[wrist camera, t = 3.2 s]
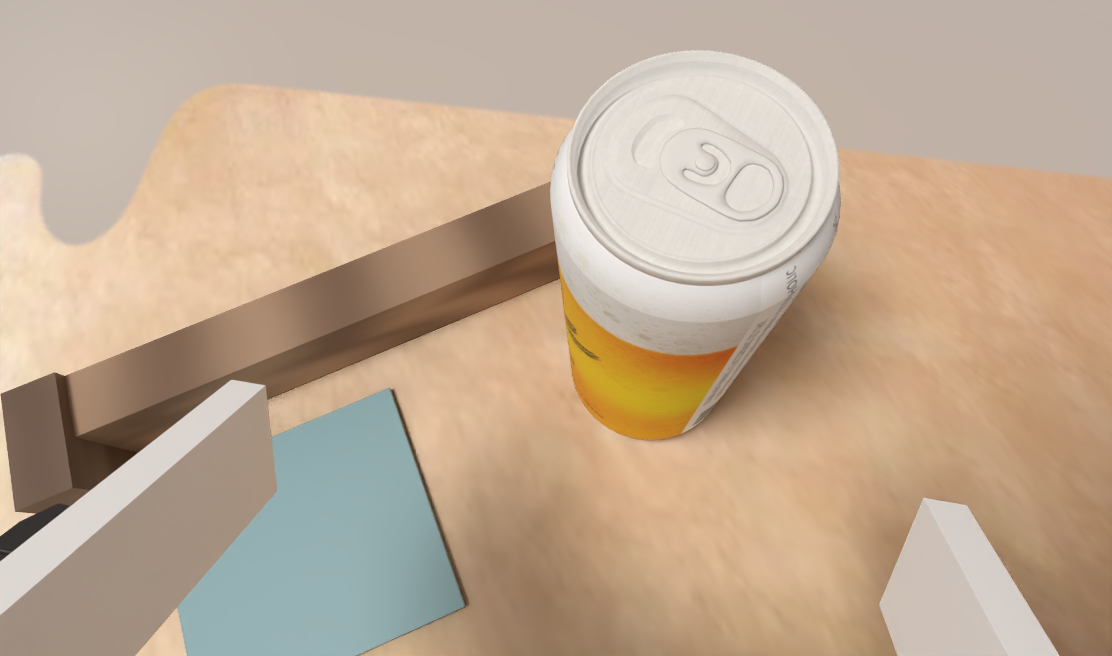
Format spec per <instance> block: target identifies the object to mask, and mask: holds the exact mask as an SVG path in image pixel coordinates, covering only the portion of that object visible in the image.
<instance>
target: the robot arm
mask: <svg viewBox="0 0 1112 656" xmlns="http://www.w3.org/2000/svg"><path fill="white" fill-rule="evenodd" d="M276 492H277V482H276V473H275V465H274V456H273V447H272V438H271V429H270V420H269V411H268V402H267V394H266V385H260V384H254V383H249V382H243V381H237V380H230V381H229V382H228V383H226V384H225V385H224V386H223V387H221V388H220V389H219V390H218V391H216V392H215V393H214V394H212V395H211V396H210V397H209V398H207V399H206V400H205V401H204V402H202V403H201V404H200V405H198V406H197V407H196V408H195V409H193V410H192V411H191V412H190V413H188V414H187V415H186V416H184V417H183V418H182V419H181V420H179V421H178V422H177V423H176V424H174V425H173V426H172V427H170V428H169V429H168V430H167V431H165V432H164V433H163V434H162V435H160V436H159V437H158V438H157V439H155V440H154V441H153V442H151V443H150V444H149V445H148V446H146V447H145V448H144V449H143V450H141V451H140V452H139V453H137V454H136V455H135V456H134V457H132V458H131V459H130V460H129V461H127V462H126V463H125V464H123V465H122V466H121V467H120V468H118V469H117V470H116V471H115V472H113V473H112V474H111V475H109V476H108V477H107V478H106V479H104V480H103V481H102V482H101V483H99V484H98V485H97V486H95V487H94V488H93V489H92V490H90V491H89V492H88V493H87V494H85V495H84V496H83V497H81V498H80V499H79V500H78V501H76V502H75V503H74V504H73V505H71V506H69V505H64V504H59V503H58V504H56V505H54V506H52V507H49V508H47V509H45V510H43V511H41V512H39V513H37V514H35V515H33V516H31V517H29V518H26V519H24V520H22V521H20V522H19V523H17V524H16V525H15V526H13V527H12V528H11V529H9V530H8V531H7V532H5V533H4V534H3V535H1V536H0V656H135V655H136V654H137V653H138V652H139V650H140V649H141V648H142V647H143V646H144V645H145V644H146V642H147V641H148V640H149V639H150V638H151V637H152V635H153V634H154V633H155V632H156V631H157V630H158V628H159V627H160V626H161V625H162V624H163V623H164V622H165V620H166V619H167V618H168V617H169V616H170V615H171V613H172V612H173V611H174V610H175V609H176V608H177V606H178V605H179V604H180V603H181V602H182V601H183V600H184V598H185V597H186V596H187V595H188V594H189V593H190V591H191V590H192V589H193V588H194V587H195V586H196V584H197V583H198V582H199V581H200V580H201V579H202V578H203V576H204V575H205V574H206V573H207V572H208V571H209V569H210V568H211V567H212V566H213V565H214V564H215V562H216V561H217V560H218V559H219V558H220V557H221V556H222V554H223V553H224V552H225V551H226V550H227V549H228V547H229V546H230V545H231V544H232V543H233V542H234V540H235V539H236V538H237V537H238V536H239V535H240V534H241V532H242V531H243V530H244V529H245V528H246V527H247V525H248V524H249V523H250V522H251V521H252V520H253V519H254V517H255V516H256V515H257V514H258V513H259V512H260V510H261V509H262V508H263V507H264V506H265V505H266V503H267V502H268V501H269V500H270V499H271V498H272V497H273V495H274V494H275V493H276ZM879 606H880V608H881V611H882V614H883V617H884V620H885V622H886V625H887V628H888V631H889V634H890V636H891V639H892V642H893V645H894V648H895V650H896V653H897V656H1059V654H1058V652H1057V651H1056V649H1055V648H1054V646H1053V644H1052V643H1051V641H1050V640H1049V638H1048V636H1047V635H1046V633H1045V631H1044V630H1043V628H1042V627H1041V625H1040V623H1039V622H1038V620H1037V618H1036V617H1035V615H1034V614H1033V612H1032V610H1031V609H1030V607H1029V605H1028V604H1027V602H1026V601H1025V599H1024V597H1023V596H1022V594H1021V593H1020V591H1019V589H1018V588H1017V586H1016V584H1015V583H1014V581H1013V580H1012V578H1011V576H1010V575H1009V573H1008V571H1007V570H1006V568H1005V567H1004V565H1003V563H1002V562H1001V560H1000V559H999V557H998V555H997V554H996V552H995V550H994V549H993V547H992V546H991V544H990V542H989V541H988V539H987V537H986V536H985V534H984V533H983V531H982V529H981V528H980V526H979V524H978V523H977V521H976V520H975V518H974V516H973V515H972V513H971V512H970V510H969V508H968V507H967V505H963V504H957V503H951V502H945V501H939V500H933V499H928V498H923V500H922V502H921V505H920V507H919V510H918V512H917V514H916V517H915V519H914V522H913V524H912V526H911V529H910V531H909V534H908V536H907V539H906V541H905V543H904V546H903V548H902V551H901V553H900V555H899V558H898V560H897V563H896V565H895V568H894V570H893V572H892V575H891V577H890V580H889V582H888V584H887V587H886V589H885V592H884V594H883V596H882V599H881V601H880V604H879Z"/></svg>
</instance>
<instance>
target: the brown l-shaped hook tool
mask: <svg viewBox="0 0 1112 656" xmlns="http://www.w3.org/2000/svg"><path fill="white" fill-rule="evenodd" d="M550 186H551V182H549V183H546V184H544V185H541V186H539V187H536V188H534V189H531V190H529V191H526V192H524V193H521V194H519V195H516V196H514V197H511V198H509V199H506V200H504V201H501V202H499V203H496V204H494V205H491V206H489V207H486V208H484V209H481V210H479V211H476V212H474V213H471V214H469V215H466V216H464V217H461V218H459V219H456V220H454V221H451V222H449V223H446V224H444V225H441V226H439V227H436V228H434V229H431V230H429V231H426V232H424V233H421V234H419V235H416V236H414V237H411V238H409V239H406V240H404V241H401V242H399V243H396V244H394V245H391V246H389V247H386V248H384V249H381V250H379V251H376V252H374V253H371V254H369V255H366V256H364V257H361V258H359V259H356V260H354V261H351V262H349V263H346V264H344V265H341V266H339V267H336V268H334V269H331V270H329V271H326V272H324V273H321V274H319V275H316V276H314V277H311V278H309V279H306V280H304V281H301V282H299V283H296V284H294V285H291V286H289V287H286V288H284V289H281V290H279V291H276V292H274V293H271V294H269V295H266V296H264V297H261V298H259V299H256V300H254V301H251V302H249V303H246V304H244V305H241V306H239V307H236V308H234V309H231V310H229V311H226V312H224V313H221V314H219V315H216V316H214V317H211V318H209V319H206V320H204V321H201V322H199V323H196V324H194V325H191V326H189V327H186V328H184V329H181V330H179V331H176V332H174V333H171V334H169V335H166V336H164V337H161V338H159V339H156V340H154V341H151V342H149V343H146V344H144V345H141V346H139V347H136V348H134V349H131V350H129V351H126V352H124V353H121V354H119V355H116V356H114V357H111V358H109V359H106V360H104V361H101V362H99V363H96V364H94V365H91V366H89V367H86V368H84V369H81V370H79V371H76V372H74V373H71V374H69V375H66V376H63V375H60V374H58V373H55V372H54V373H52V374H49V375H47V376H44V377H42V378H39V379H37V380H34V381H32V382H29V383H27V384H24V385H22V386H19V387H17V388H14V389H12V390H9V391H7V392H4V393H2V394H1V401H2V409H3V417H4V426H5V434H6V442H7V450H8V458H9V466H10V474H11V482H12V491H13V499H14V507H15V512H26V513H39V512H41V511H43V510H45V509H47V508H49V507H52V506H54V505H56V504H58V503H59V504H64V505H69V506H71V505H73V504H74V503H75V502H76V501H78V500H79V499H80V498H81V497H83V496H84V495H85V494H87V493H88V492H89V491H90V490H92V489H93V488H94V487H95V486H97V485H98V484H99V483H101V482H102V481H103V480H104V479H106V478H107V477H108V476H109V475H111V474H112V473H113V472H115V471H116V470H117V469H118V468H120V467H121V466H122V465H123V464H125V463H126V462H127V461H129V460H130V459H131V458H132V457H134V456H135V455H136V454H137V453H139V452H140V451H141V450H143V449H144V448H145V447H146V446H148V445H149V444H150V443H151V442H153V441H154V440H155V439H157V438H158V437H159V436H160V435H162V434H163V433H164V432H165V431H167V430H168V429H169V428H170V427H172V426H173V425H174V424H176V423H177V422H178V421H179V420H181V419H182V418H183V417H184V416H186V415H187V414H188V413H190V412H191V411H192V410H193V409H195V408H196V407H197V406H198V405H200V404H201V403H202V402H204V401H205V400H206V399H207V398H209V397H210V396H211V395H212V394H214V393H215V392H216V391H218V390H219V389H220V388H221V387H223V386H224V385H225V384H226V383H228V382H229V381H230V380H237V381H243V382H249V383H254V384H260V385H266V394H267V399H269V398H271V397H274V396H276V395H279V394H281V393H284V392H286V391H288V390H291V389H293V388H296V387H298V386H300V385H303V384H305V383H308V382H310V381H313V380H315V379H317V378H320V377H322V376H325V375H327V374H329V373H332V372H334V371H337V370H339V369H341V368H344V367H346V366H349V365H351V364H354V363H356V362H358V361H361V360H363V359H366V358H368V357H370V356H373V355H375V354H378V353H380V352H383V351H385V350H387V349H390V348H392V347H395V346H397V345H399V344H402V343H404V342H407V341H409V340H412V339H414V338H416V337H419V336H421V335H424V334H426V333H428V332H431V331H433V330H436V329H438V328H441V327H443V326H445V325H448V324H450V323H453V322H455V321H457V320H460V319H462V318H465V317H467V316H469V315H472V314H474V313H477V312H479V311H482V310H484V309H486V308H489V307H491V306H494V305H496V304H498V303H501V302H503V301H506V300H508V299H511V298H513V297H515V296H518V295H520V294H523V293H525V292H527V291H530V290H532V289H535V288H537V287H540V286H542V285H544V284H547V283H549V282H552V281H554V280H556V279H559V278H560V274H559V266H558V258H557V250H556V242H555V234H554V226H553V218H552V210H551V199H550Z"/></svg>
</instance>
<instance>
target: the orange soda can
mask: <svg viewBox="0 0 1112 656" xmlns="http://www.w3.org/2000/svg"><path fill="white" fill-rule="evenodd" d="M550 199H551V210H552V218H553V226H554V234H555V242H556V250H557V258H558V266H559V274H560V281H561V289H562V297H563V305H564V313H565V321H566V329H567V337H568V345H569V353H570V361H571V369H572V376H573V381H574V384H575V388H576V390H577V393H578V395H579V397H580V399H581V401H582V402H583V404H584V406H585V407H586V408H587V410H588V411H589V412H590V413H591V414H592V415H593V416H594V417H595V418H596V419H597V420H598V421H599V422H600V423H602V424H603V425H605V426H606V427H607V428H609V429H611V430H613V431H615V432H617V433H619V434H622V435H624V436H627V437H631V438H635V439H642V440H659V439H666V438H670V437H674V436H677V435H680V434H682V433H684V432H686V431H688V430H690V429H691V428H693V427H695V426H696V425H697V424H699V423H700V422H701V421H702V420H703V419H704V418H705V417H706V416H707V415H708V414H709V413H710V411H711V410H712V409H713V407H714V406H715V405H716V403H717V402H718V401H719V399H720V398H721V397H722V395H723V394H724V393H725V391H726V390H727V389H728V387H729V386H730V385H731V383H732V382H733V381H734V379H735V378H736V377H737V375H738V374H739V373H740V371H741V370H742V369H743V367H744V366H745V365H746V363H747V362H748V361H749V359H750V358H751V357H752V355H753V354H754V353H755V351H756V350H757V349H758V347H759V346H760V345H761V343H762V342H763V341H764V339H765V338H766V337H767V335H768V334H769V333H770V331H771V330H772V329H773V327H774V326H775V325H776V323H777V322H778V321H779V319H780V318H781V317H782V315H783V314H784V313H785V311H786V310H787V309H788V307H789V306H790V305H791V303H792V302H793V301H794V299H795V298H796V297H797V295H798V294H799V293H800V291H801V290H802V289H803V287H804V286H805V285H806V283H807V282H808V281H809V279H810V278H811V277H812V275H813V274H814V273H815V271H816V270H817V269H818V267H819V266H820V265H821V263H822V262H823V260H824V259H825V257H826V255H827V253H828V251H829V249H830V248H831V245H832V243H833V240H834V237H835V235H836V232H837V227H838V223H839V218H840V206H841V198H840V186H839V156H838V151H837V146H836V142H835V139H834V136H833V133H832V131H831V128H830V126H829V124H828V122H827V120H826V118H825V117H824V115H823V114H822V112H821V111H820V109H819V108H818V106H817V105H816V104H815V102H814V101H813V100H812V99H811V98H810V97H809V96H808V95H807V94H806V93H805V92H804V91H803V90H802V89H801V88H800V87H799V86H798V85H797V84H795V83H794V82H793V81H791V80H790V79H789V78H787V77H786V76H785V75H783V74H781V73H780V72H778V71H776V70H774V69H773V68H771V67H769V66H767V65H764V64H762V63H760V62H757V61H754V60H752V59H749V58H746V57H743V56H739V55H735V54H731V53H724V52H718V51H707V50H693V51H692V50H688V51H679V52H671V53H667V54H662V55H658V56H655V57H651V58H648V59H645V60H643V61H640V62H638V63H635V64H633V65H631V66H630V67H627V68H626V69H624V70H622V71H620V72H619V73H617V74H616V75H615V76H613V77H612V78H610V79H609V80H608V81H606V82H605V83H604V84H603V85H602V86H601V87H600V88H599V89H598V90H597V91H596V92H595V93H594V94H593V95H592V96H591V97H590V98H589V100H588V101H587V103H586V104H585V105H584V107H583V108H582V110H581V112H580V114H579V115H578V117H577V119H576V121H575V124H574V126H573V127H572V129H571V130H570V132H569V133H568V134H567V136H566V138H565V140H564V141H563V143H562V145H561V147H560V149H559V152H558V155H557V157H556V160H555V163H554V167H553V171H552V177H551V186H550Z"/></svg>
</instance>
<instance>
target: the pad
mask: <svg viewBox="0 0 1112 656" xmlns="http://www.w3.org/2000/svg"><path fill="white" fill-rule="evenodd" d="M271 438H272V447H273V456H274V465H275V473H276V482H277V492H276V493H275V494H274V495H273V497H272V498H271V499H270V500H269V501H268V502H267V503H266V505H265V506H264V507H263V508H262V509H261V510H260V512H259V513H258V514H257V515H256V516H255V517H254V519H253V520H252V521H251V522H250V523H249V524H248V525H247V527H246V528H245V529H244V530H243V531H242V532H241V534H240V535H239V536H238V537H237V538H236V539H235V540H234V542H233V543H232V544H231V545H230V546H229V547H228V549H227V550H226V551H225V552H224V553H223V554H222V556H221V557H220V558H219V559H218V560H217V561H216V562H215V564H214V565H213V566H212V567H211V568H210V569H209V571H208V572H207V573H206V574H205V575H204V576H203V578H202V579H201V580H200V581H199V582H198V583H197V584H196V586H195V587H194V588H193V589H192V590H191V591H190V593H189V594H188V595H187V596H186V597H185V598H184V600H183V601H182V602H181V603H180V604H179V605H178V606H177V607H178V612H179V617H180V622H181V627H182V632H183V637H184V642H185V648H186V653H187V656H357V655H359V654H362V653H364V652H366V651H368V650H370V649H373V648H375V647H377V646H379V645H381V644H384V643H386V642H388V641H390V640H392V639H395V638H397V637H399V636H401V635H403V634H406V633H408V632H410V631H412V630H415V629H417V628H419V627H421V626H423V625H426V624H428V623H430V622H432V621H434V620H437V619H439V618H441V617H443V616H445V615H448V614H450V613H452V612H454V611H456V610H459V609H461V608H463V607H465V606H466V605H465V602H464V599H463V596H462V593H461V590H460V587H459V584H458V581H457V579H456V576H455V573H454V570H453V567H452V564H451V561H450V558H449V555H448V553H447V550H446V547H445V544H444V541H443V538H442V535H441V532H440V529H439V527H438V524H437V521H436V518H435V515H434V512H433V509H432V506H431V503H430V500H429V498H428V495H427V492H426V489H425V486H424V483H423V480H422V477H421V474H420V472H419V469H418V466H417V463H416V460H415V457H414V454H413V451H412V448H411V446H410V443H409V440H408V437H407V434H406V431H405V428H404V425H403V422H402V419H401V417H400V414H399V411H398V408H397V405H396V402H395V399H394V396H393V393H392V391H391V389H390V388H388V389H386V390H383V391H381V392H378V393H376V394H374V395H371V396H369V397H366V398H364V399H362V400H359V401H357V402H355V403H352V404H350V405H347V406H345V407H343V408H340V409H338V410H335V411H333V412H331V413H328V414H326V415H324V416H321V417H319V418H316V419H314V420H312V421H309V422H307V423H304V424H302V425H300V426H297V427H295V428H293V429H290V430H288V431H285V432H283V433H281V434H278V435H276V436H273V437H271Z"/></svg>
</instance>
